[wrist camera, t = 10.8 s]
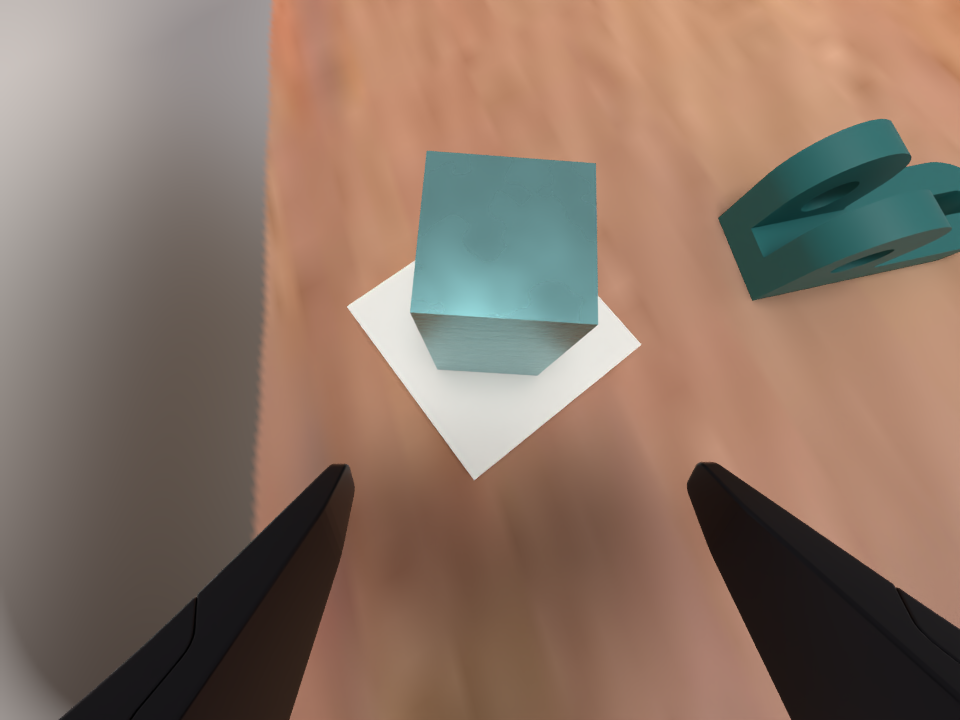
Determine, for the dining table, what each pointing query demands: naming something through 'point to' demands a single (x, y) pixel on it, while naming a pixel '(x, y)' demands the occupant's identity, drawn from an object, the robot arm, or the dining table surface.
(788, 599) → the robot arm
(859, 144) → the bracket
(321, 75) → the dining table surface
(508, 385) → the riser block
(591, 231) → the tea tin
